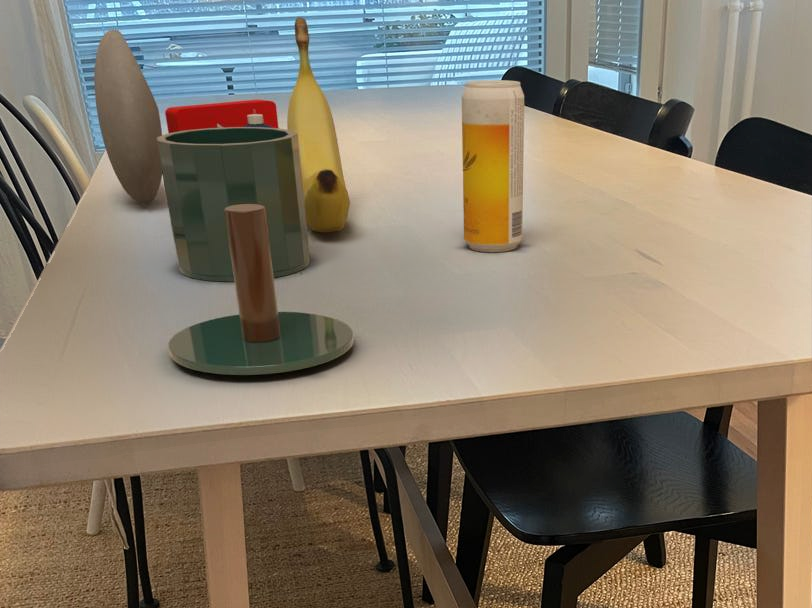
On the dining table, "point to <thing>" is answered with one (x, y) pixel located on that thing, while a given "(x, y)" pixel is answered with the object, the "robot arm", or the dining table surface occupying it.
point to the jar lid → (257, 316)
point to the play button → (219, 115)
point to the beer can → (493, 164)
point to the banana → (316, 146)
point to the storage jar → (233, 195)
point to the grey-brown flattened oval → (127, 118)
